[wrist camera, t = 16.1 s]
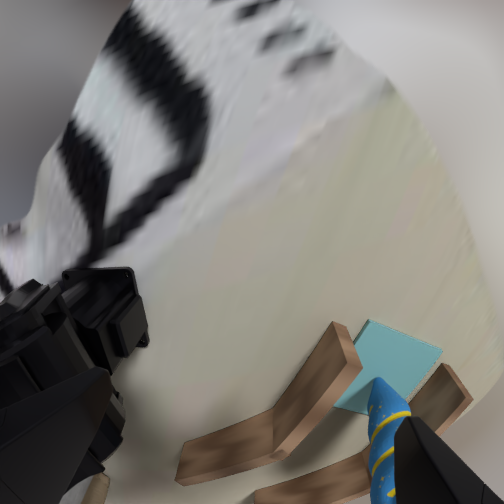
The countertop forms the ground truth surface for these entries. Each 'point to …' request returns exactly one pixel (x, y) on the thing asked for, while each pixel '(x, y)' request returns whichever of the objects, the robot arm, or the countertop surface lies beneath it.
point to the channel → (304, 420)
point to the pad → (387, 364)
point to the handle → (97, 490)
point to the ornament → (383, 438)
